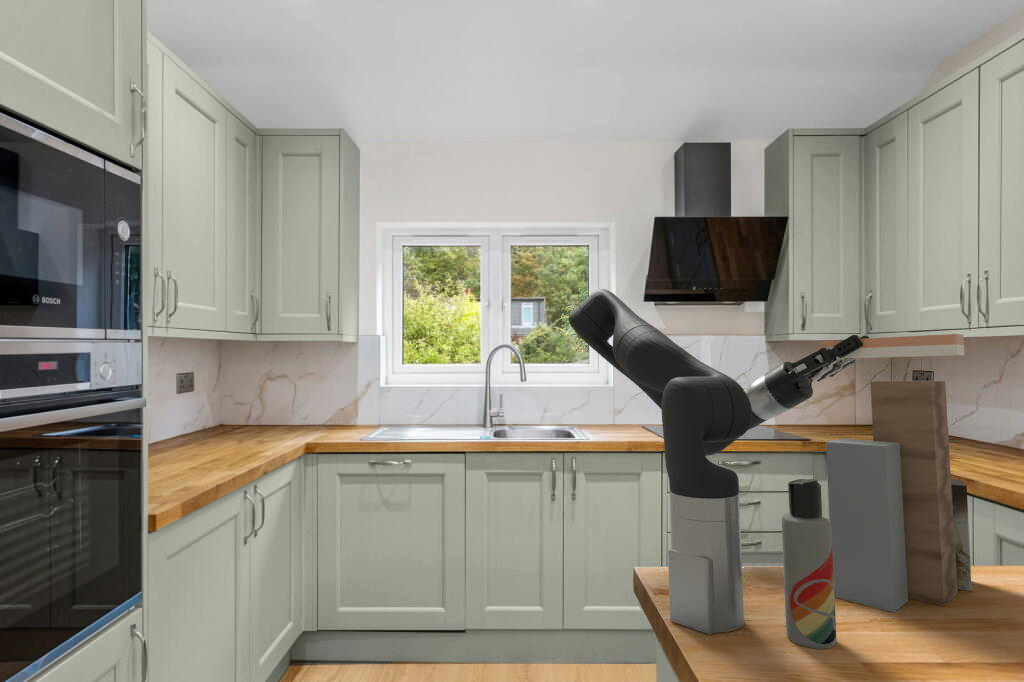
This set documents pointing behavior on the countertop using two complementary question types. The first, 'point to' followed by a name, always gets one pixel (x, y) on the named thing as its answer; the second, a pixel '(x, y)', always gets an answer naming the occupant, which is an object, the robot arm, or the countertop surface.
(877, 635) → the countertop surface
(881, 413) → the walnut stand
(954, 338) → the bar
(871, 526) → the grey stand
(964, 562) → the coffee box
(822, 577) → the lotion bottle
